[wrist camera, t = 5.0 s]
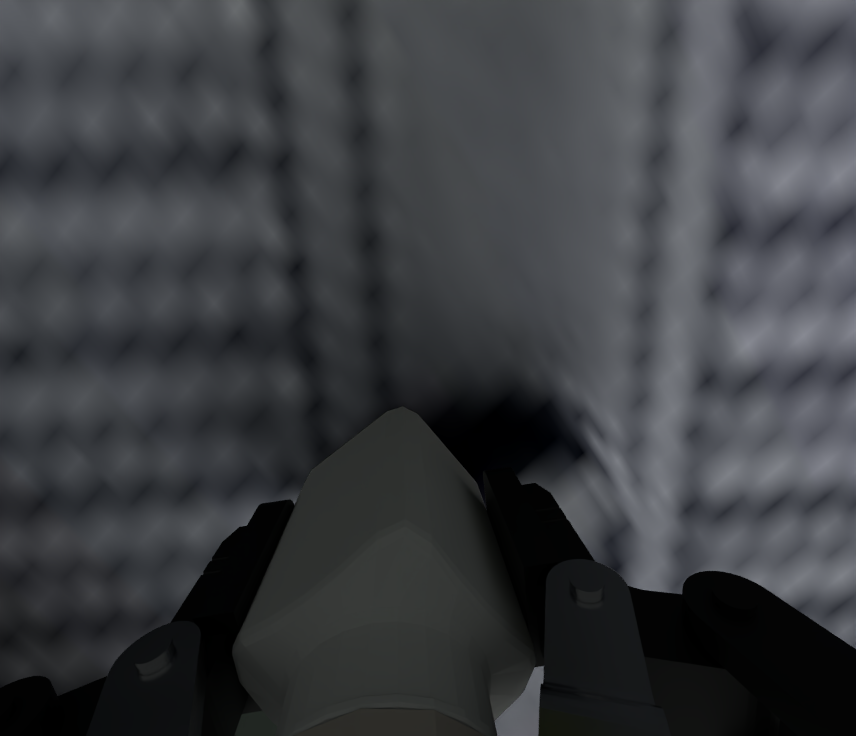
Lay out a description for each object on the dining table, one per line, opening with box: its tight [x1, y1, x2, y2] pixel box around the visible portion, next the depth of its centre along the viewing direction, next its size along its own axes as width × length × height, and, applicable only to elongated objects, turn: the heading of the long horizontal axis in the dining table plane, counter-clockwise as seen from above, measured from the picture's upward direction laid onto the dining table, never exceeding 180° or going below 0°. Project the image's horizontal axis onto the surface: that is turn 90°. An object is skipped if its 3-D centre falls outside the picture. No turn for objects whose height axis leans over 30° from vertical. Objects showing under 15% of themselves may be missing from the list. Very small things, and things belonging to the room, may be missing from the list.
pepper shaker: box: [232, 406, 536, 736], centre depth 8 cm, size 4×4×10 cm
